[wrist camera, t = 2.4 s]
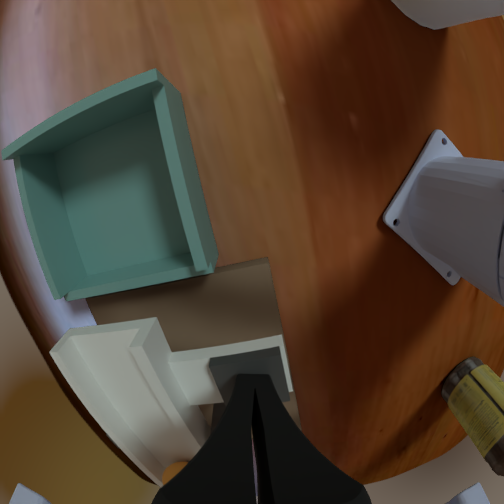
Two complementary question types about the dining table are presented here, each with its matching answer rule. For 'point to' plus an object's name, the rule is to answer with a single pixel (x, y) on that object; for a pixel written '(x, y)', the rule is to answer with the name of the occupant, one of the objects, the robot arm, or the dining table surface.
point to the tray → (159, 385)
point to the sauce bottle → (479, 408)
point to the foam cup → (449, 11)
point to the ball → (172, 471)
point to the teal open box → (115, 191)
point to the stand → (204, 314)
